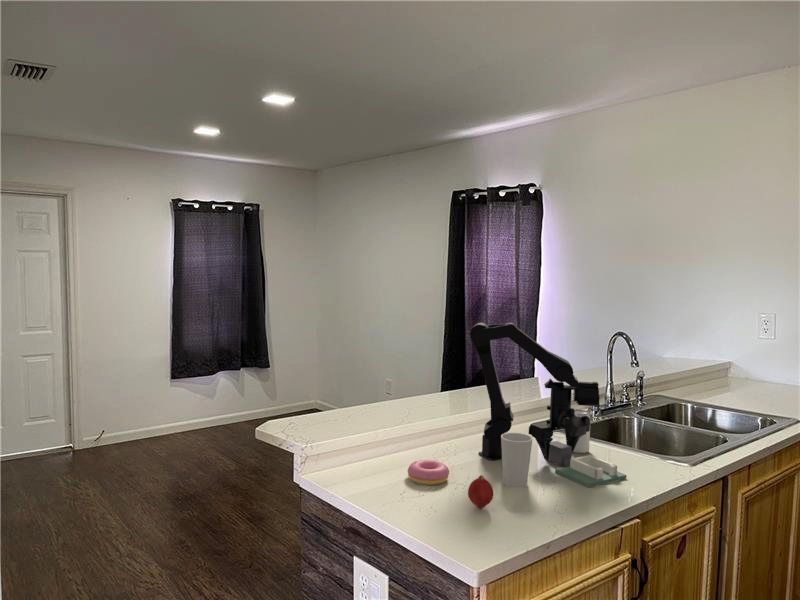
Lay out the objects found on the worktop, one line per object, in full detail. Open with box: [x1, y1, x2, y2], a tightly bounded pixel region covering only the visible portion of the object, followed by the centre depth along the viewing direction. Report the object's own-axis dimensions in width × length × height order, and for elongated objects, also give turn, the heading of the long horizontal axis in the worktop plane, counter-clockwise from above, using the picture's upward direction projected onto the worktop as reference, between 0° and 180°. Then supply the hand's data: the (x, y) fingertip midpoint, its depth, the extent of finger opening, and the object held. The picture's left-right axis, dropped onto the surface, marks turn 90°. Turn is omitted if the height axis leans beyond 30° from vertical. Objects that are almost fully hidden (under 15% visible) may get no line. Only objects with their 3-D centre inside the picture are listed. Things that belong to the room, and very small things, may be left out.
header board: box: [554, 454, 627, 488], centre depth 160 cm, size 14×12×4 cm
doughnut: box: [407, 459, 450, 486], centre depth 154 cm, size 11×11×4 cm
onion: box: [467, 474, 494, 510], centre depth 136 cm, size 6×6×8 cm
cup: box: [501, 432, 533, 488], centre depth 153 cm, size 8×8×12 cm
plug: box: [547, 440, 573, 467], centre depth 170 cm, size 4×7×5 cm, turn 29°
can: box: [572, 409, 591, 454], centre depth 181 cm, size 6×6×12 cm
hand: (558, 457), depth 170 cm, fingers open, 9 cm apart
